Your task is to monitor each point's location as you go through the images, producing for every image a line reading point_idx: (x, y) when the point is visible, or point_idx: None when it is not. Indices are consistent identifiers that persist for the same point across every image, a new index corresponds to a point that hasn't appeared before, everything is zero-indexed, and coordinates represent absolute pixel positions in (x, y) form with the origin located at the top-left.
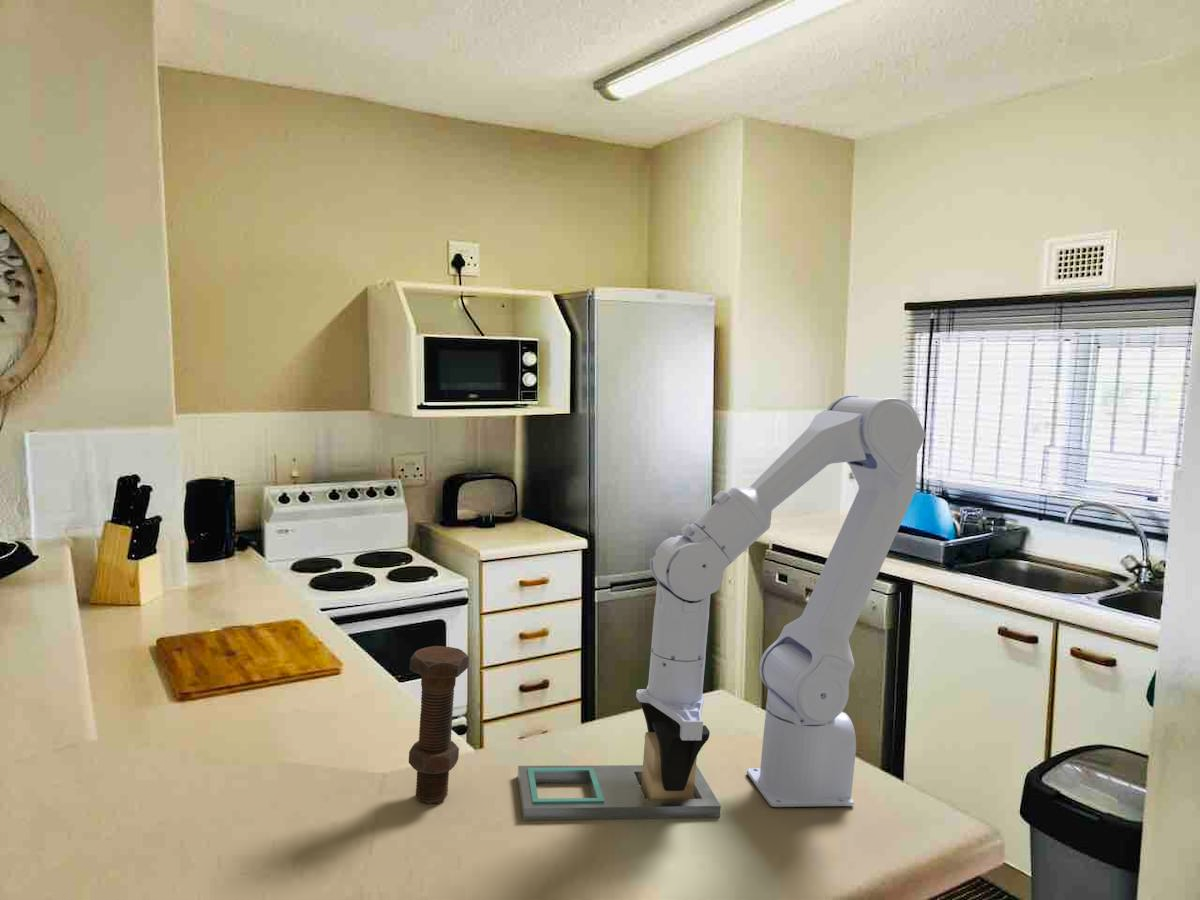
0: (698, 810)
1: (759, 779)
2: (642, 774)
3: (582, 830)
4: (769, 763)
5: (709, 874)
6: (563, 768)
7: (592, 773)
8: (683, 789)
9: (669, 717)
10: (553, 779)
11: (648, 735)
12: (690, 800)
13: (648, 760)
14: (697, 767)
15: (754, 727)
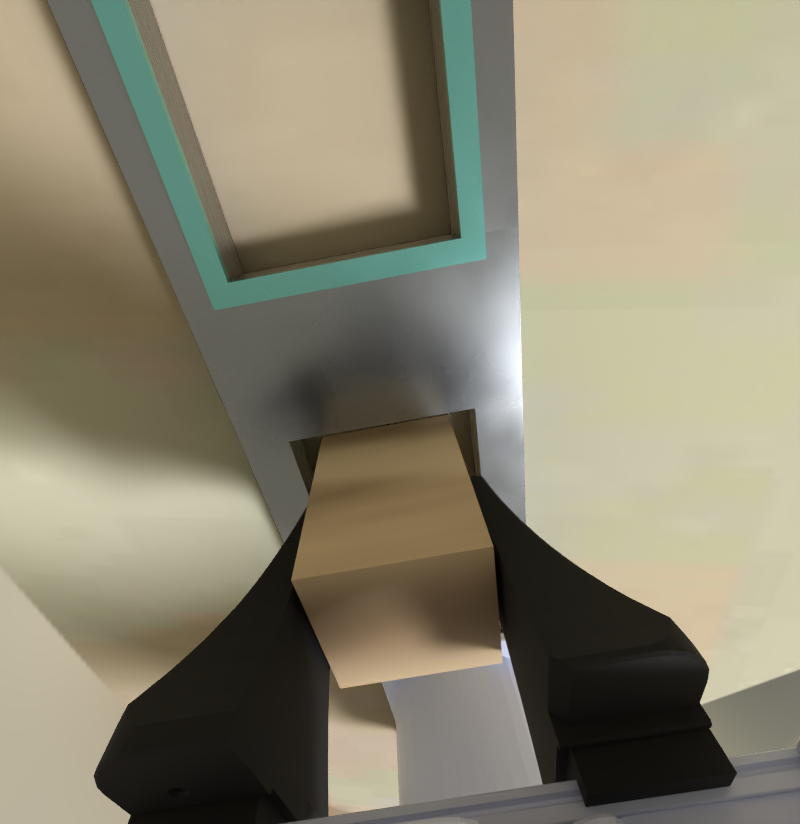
0: None
1: None
2: (448, 435)
3: (91, 222)
4: (441, 729)
5: (47, 546)
6: (467, 100)
7: (433, 255)
8: None
9: (528, 686)
10: (435, 56)
11: (455, 557)
12: None
13: (389, 499)
14: None
15: (755, 647)
